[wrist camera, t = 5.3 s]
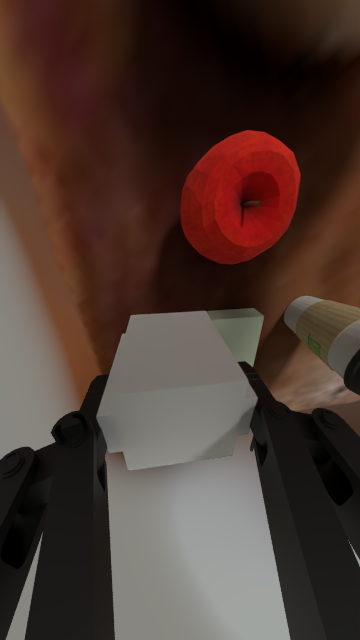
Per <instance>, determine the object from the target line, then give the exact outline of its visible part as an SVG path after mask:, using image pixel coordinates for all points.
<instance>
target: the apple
mask: <svg viewBox="0 0 360 640" xmlns="http://www.w3.org/2000/svg"><path fill="white" fill-rule="evenodd" d="M300 178H301V174H300V171H299V168H298V164H297V161H296V158H295V155H294V153H293V152H292V151H291V150H290V149H289V148H288V147H286V146H285V145H284V144H283V143H282V142H281V141H280V140H278V139H276V138H274V137H273V136H271V135H269V134H267V133H265V132H260V131H250V130H246V131H243V132H240V133H237V134H234V135H231V136H229V137H228V138H226V139H225V140H223V141H221V142H220V143H218V144H216V145H215V146H213V147H212V148H211V149H210V150H209V151H208V152H207V153H206V154H205V155H204V156H203V157H202V158H201V159H200V161H199V162H198V163H197V164H196V166H195V167H194V168H193V169H192V171H191V172H190V173H189V175H188V176H187V179H186V182H185V184H184V187H183V190H182V196H181V209H180V217H181V225H182V229H183V232H184V234H185V236H186V238H187V240H188V242H189V243H190V244H191V245H192V246H193V247H194V248H195V249H196V251H197V252H198V253H200V254H201V255H203V256H204V257H206V258H208V259H210V260H213V261H215V262H217V263H220V264H236V263H240V262H244V261H249V260H250V259H252V258H254V257H255V256H257V255H259V254H260V253H262V252H264V251H266V250H267V249H269V248H270V247H272V246H273V245H274V244H275V243H276V242H277V241H278V240H279V239H280V237H281V236H282V235H283V234H284V233H285V231H286V230H287V229H288V227H289V225H290V222H291V220H292V217H293V215H294V212H295V210H296V204H297V197H298V191H299V185H300Z"/></svg>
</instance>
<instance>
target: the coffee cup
mask: <svg viewBox="0 0 360 640" xmlns="http://www.w3.org/2000/svg"><path fill="white" fill-rule="evenodd" d="M284 322H285V324H286V325H287V326H288V327H289V328H290V329H291V330H292V331H293V332H294V333H295V334H296V335H297V336H298V338H299V339H300V340H301V341H303V342H304V343H305V344H306V345H307V346H308V347H309V348H310V349H311V350H312V351H313V352H314V353H315V354H316V355H317V356H318V357H319V358H320V359H321V360H322V361H323V362H324V363H325V364H326V365H327V366H328V367H329V368H330V369H331V370H333V371H335V372H336V373H337V374H338V375H339V376H341V377H342V378H343V379H344V384H345V386H346V387H347V388H348V389H349V390H350V391H352V392H354V393H356V394H358V395H360V308H357V307H353V306H349V305H345V304H342V303H338V302H334V301H329V300H322V299H318V298H315V297H311V296H302V297H299V298H297V299H296V300H294V301H293V302H292V303H291V304H290V305H289V306H288V307H287V309H286V311H285V313H284Z"/></svg>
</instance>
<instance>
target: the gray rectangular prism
mask: <svg viewBox="0 0 360 640" xmlns="http://www.w3.org/2000/svg"><path fill="white" fill-rule="evenodd" d="M248 381H249V380H248V379H247V377H246V376H245V374H244V372H243V371H242V369H241V367H240V366H239V364H238V363H237V361H236V359H235V358H234V356H233V354H232V353H231V351H230V350H229V348H228V346H227V345H226V343H225V341H224V340H223V338H222V336H221V335H220V333H219V332H218V330H217V328H216V327H215V325H214V323H213V322H212V320H211V319H210V317H209V315H208V314H207V312H206V311H194V312H177V313H160V314H144V315H131V317H130V320H129V323H128V327H127V330H126V334H125V337H124V340H123V344H122V347H121V350H120V354H119V357H118V361H117V364H116V367H115V371H114V374H113V377H112V381H111V384H110V388H109V391H108V394H107V396H108V400H109V403H110V407H111V410H112V414H113V418H114V421H115V425H116V428H117V432H118V436H119V439H120V443H121V446H122V450H123V453H124V457H125V461H126V464H127V468H128V470H129V471H130V470H136V469H144V468H151V467H157V466H165V465H171V464H178V463H185V462H191V461H199V460H205V459H213V458H220V457H226V456H232V454H233V450H234V445H235V440H236V435H237V431H238V427H239V422H240V418H241V413H242V409H243V404H244V399H245V395H246V390H247V386H248Z"/></svg>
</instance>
